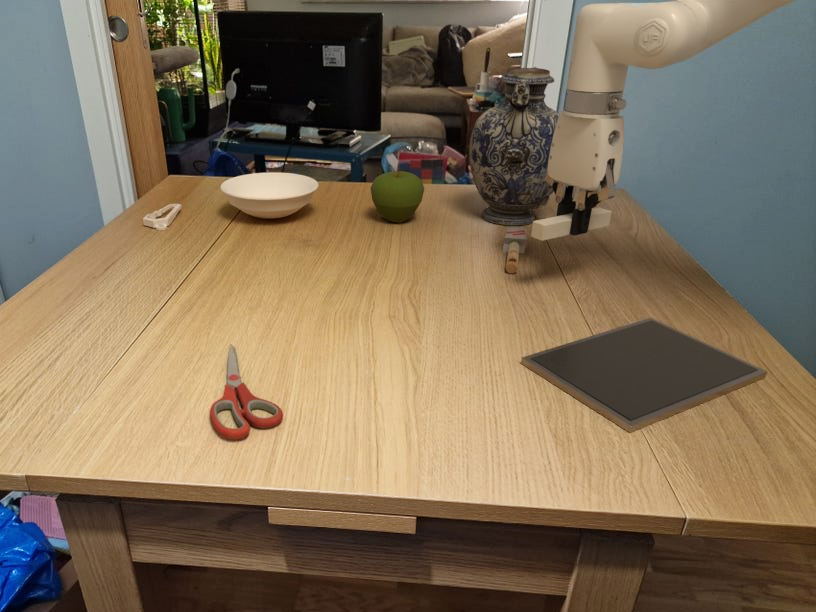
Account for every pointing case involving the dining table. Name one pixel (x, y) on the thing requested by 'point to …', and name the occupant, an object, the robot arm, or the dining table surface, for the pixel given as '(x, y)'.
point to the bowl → (269, 193)
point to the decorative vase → (514, 149)
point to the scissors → (246, 401)
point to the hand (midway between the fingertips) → (570, 230)
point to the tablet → (642, 372)
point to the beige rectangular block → (567, 224)
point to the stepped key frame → (162, 222)
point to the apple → (397, 195)
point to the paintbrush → (514, 246)
